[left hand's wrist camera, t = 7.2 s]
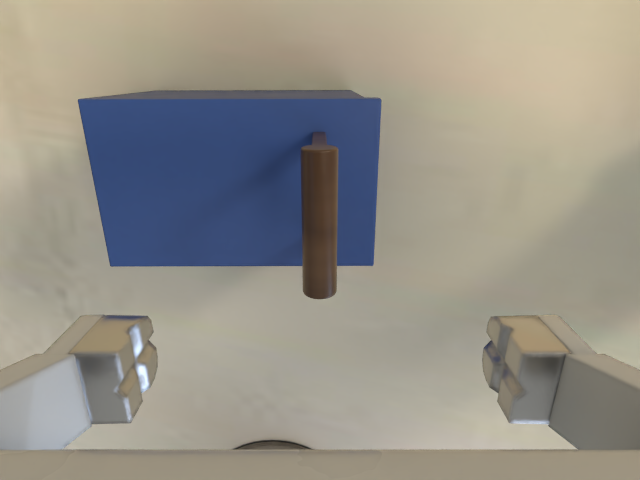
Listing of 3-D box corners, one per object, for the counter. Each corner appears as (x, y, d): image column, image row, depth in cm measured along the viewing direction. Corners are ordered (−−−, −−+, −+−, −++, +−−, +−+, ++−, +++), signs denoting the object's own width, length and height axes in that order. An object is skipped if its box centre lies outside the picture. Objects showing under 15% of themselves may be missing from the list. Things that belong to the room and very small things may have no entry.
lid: (379, 97, 23) (406, 108, 16) (371, 259, 27) (391, 329, 19) (86, 98, 23) (-21, 109, 16) (117, 260, 27) (41, 330, 19)
